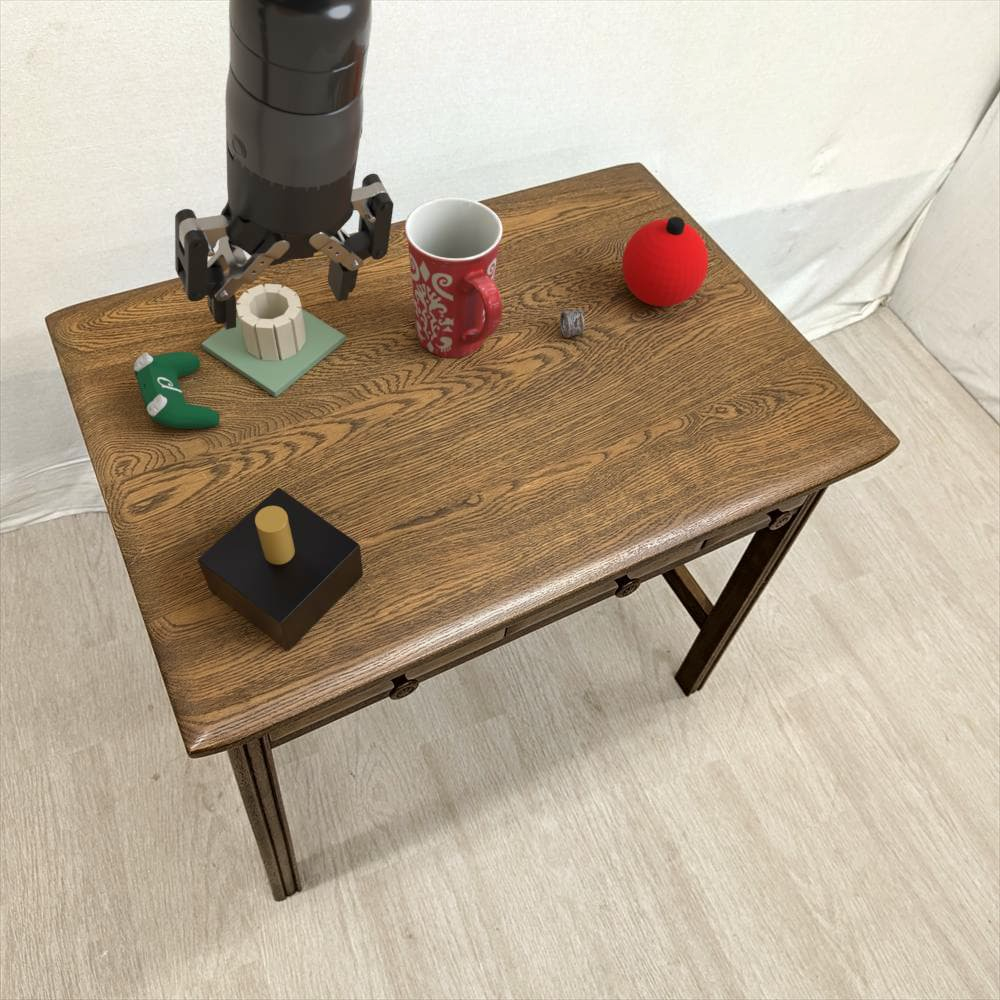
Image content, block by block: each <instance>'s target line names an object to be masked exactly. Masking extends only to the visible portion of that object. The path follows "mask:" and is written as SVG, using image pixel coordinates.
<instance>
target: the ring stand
mask: <svg viewBox="0 0 1000 1000" xmlns="http://www.w3.org/2000/svg"><path fill="white" fill-rule="evenodd" d="M196 560H197V563H198V565H199V567H200V570H201V572H202V575H203V577H204V581H205V582H206V585H207V588H208V590H209V591H211V593H213V594H214V595H215V596H216V597H218V598H219V599H221V600H222V601H223V602H224V603H226V604H227V605H228V606H229V607H230V608H232V609H233V610H235V611H236V612H237V613H238V614H239V615H241V616H242V617H244V618H245V619H246V620H247V621H248V622H250V623H251V624H252V625H254V626H255V627H257V629H259V630H260V631H262V632H263V633H265V634H266V635H267V636H268V637H269V638H271V639H272V640H273V641H275V642H276V643H277V644H278V645H280V646H281V647H282V648H284V649H285V650H286V651H287V652H289V651H291V650H292V649H293V647H295V645H297V644H298V643H299V642H300V641H301V639H303V637H305V635H306V634H307V633H309V631H310V630H311V629H312V628H313V627H314V626H315V625H316V624H317V623H318V622H319V621H321V619H322V618H323V617H324V616H325V615H326V614H327V613H328V612H329V611H330V610H332V608H333V607H334V606H335V605H336V604H338V602H339V601H340V600H341V599H342V598H343V596H345V595H346V594H347V593H348V591H349V590H351V588H353V586H355V585H356V583H358V582H359V580H360V579H361V578H362V577H363V576H364V569H363V561H362V560H363V559H362V552H361V544H359V542H357V541H356V540H354V539H353V538H351V537H350V536H348V535H347V534H345V533H344V532H342V531H341V530H340V529H338V528H337V527H335V526H334V525H333V524H331V522H328V521H327V520H325V519H324V518H323V517H321V516H320V515H319V514H317V513H316V512H315V511H313V510H311V508H309V507H307V506H306V505H305V504H304V503H302V502H300V501H299V500H298V499H296V497H295V498H294V497H293V496H292V495H290V494H289V493H288V492H286V491H285V490H283V489H282V488H281V487H279V486H278V487H277V488H276V489H275V490H274V491H272V492H271V493H270V494H268V496H267V497H265V498H264V499H263V500H262V501H261V502H260V503H259V504H258V505H257V506H255V507H254V508H253V509H252V510H251V511H250V512H248V514H247V515H245V516H244V517H243V518H242V519H241V520H240V521H238V522H237V523H236V524H235V525H234V526H233V527H232V528H231V529H229V531H227V532H226V533H225V534H224V535H222V536H221V537H220V538H219V539H218V540H217V541H215V543H213V545H212V546H210V547H209V548H208V549H207V550H205V552H204V553H202V554H201V555H200V556H199V557H198V558H197V559H196Z"/></svg>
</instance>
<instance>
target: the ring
mask: <svg viewBox="0 0 1000 1000" xmlns="http://www.w3.org/2000/svg"><path fill="white" fill-rule="evenodd" d="M302 307H303V306H302V303H301V298H300V296H299V294H297V292H296V291H294V290H293V289H291V288H290V287H288V286H286V285H283V286H282V284H278V283H265V284H264V285H263V284H258V285H255V286H253V287H251V288H248V289H246V291H243V292H242V294H241V296H240V297H239V298H238V299H237V300H236V314H237V317H238V318H239V322H240V326H241V331H242V335H243V339H244V344H245V348H246V349H247V351H248V352H249V353H251V354H252V355H254V356H255V357H257V358H258V359H260V358H261V357H262V360H271V361H279V357H280V358H281V359H282V360H284V359H286V358H289V357H291V356H293V355H296V351H297V352H299V351H300V350H301V348H302V347H303V345H304V343H305V342H306V340H305V339H306V333H305V327H304V320H303V313H302V309H303V308H302Z"/></svg>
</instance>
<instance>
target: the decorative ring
mask: <svg viewBox="0 0 1000 1000" xmlns="http://www.w3.org/2000/svg"><path fill="white" fill-rule="evenodd" d="M583 313H584V310H582V309H580V308H576V309H575V310H572V311H571V310H562V311H561V312H560V315H559V316H560V317H559V325H560V331H561V333H562V336H563V337H564V338H566V339H568V338H570V337H571V338H572V337H574V336H577V335H578V336H579V337H582V336H583V335H584V333H585V318H584V314H583ZM579 321H580V322H579Z"/></svg>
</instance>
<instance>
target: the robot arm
mask: <svg viewBox="0 0 1000 1000" xmlns="http://www.w3.org/2000/svg"><path fill="white" fill-rule="evenodd" d="M372 3H373V2H372V0H228V41H229V42H228V43H229V45H228V47H229V49H228V50H229V51H228V53H229V62H228V63H229V64H228V72H227V78H226V84H225V101H224V102H225V143H226V144H225V149H226V190H227V201H226V204H225V206H224V207H223V208H222V210H221V212H220V214H219V215H212V216H206V217H199V218H197V215H196V213H195V211H194V210H193V209H190V208H183V209H180V210H179V211H178V212H176V213H175V216H174V260H175V263H174V266H175V268H174V269H175V272H176V274H177V276H178V277H179V279H180V281H181V283H182V286H183V288H184V290H185V294H186V297H187V299H188V300H189V301H190V302H193V303H194V302H199V301H202V300H204V299H205V298H206V300H207V307H208V310H209V311H210V314H211V316H212V318H213V320H214V322H215V323H216V324H217V325H223V327H225V329H226V330H227V329H231V328H235V327H236V318H237V309H236V305H237V297H236V295H235V294H236V293H237V292H238V290H240V288H241V287H242V286H243V285H244V284H245V283H248V284H253V283H254V282H255V281H256V280H257V279H258V278H259V277H260V276H261V275H262V274H263V273H264V271H265V270H266V269H267V268H268V267H273V266H277V265H282V264H284V263H286V262H289V261H291V260H304V259H305V260H306V259H309V258H313V257H314V256H315V254H316V253H318V252H319V251H320V252H321V253H322V254H324V255H325V256H326V257H328V258H329V265H328V273H327V283H328V286H329V288H330V290H331V292H332V294H333V295H334V298H335V300H336V302H338V303H340V302H343V301H347V300H348V299H349V293H352V292H353V291H354V290H355V288H356V284H357V280H358V279H357V278H358V275H359V270H360V268H362V267H363V265H364V261H365V260H367V259H369V258H372V259H373V260H374V261H375V260H381V259H383V258H385V257H386V256H387V254H388V252H389V251H388V250H389V241H390V235H391V227H392V220H393V212H394V202H393V199H392V198H391V196H390V194H389V193H388V191H387V189H386V188H385V185H384V184H383V182H382V180H381V178H380V176H379V175H378V174H377V173H369V174H367V175H366V176H364V178H363V179H362V181H361V187H357V188H354V184H355V183H354V182H355V175H356V171H357V170H356V169H357V164H358V156H359V149H360V143H361V138H362V134H363V120H364V84H365V83H364V82H365V75H366V68H367V62H368V61H367V60H368V55H369V48H370V47H369V46H370V39H371V33H372V22H373V4H372ZM354 211H357V213H358V214H359V216H358V228H357V229H358V230H357V231H358V232H357V233H354V234H352V235H350V234H349V233H348V232H347V231H346V230H344V229H343V227H344V226H345V225H346V224H347V223H348V222H349V220H350V219H351V218H352V216H353V214H354ZM217 244H218V247H217V250H216V251H215V250H214V248H216V246H217ZM245 253H247V255H249V256H250V257H249V258H247V256H246V254H245ZM209 257H210V258H209ZM227 268H228V272H227V274H226V272H225V270H227ZM206 296H207V297H206Z"/></svg>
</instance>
